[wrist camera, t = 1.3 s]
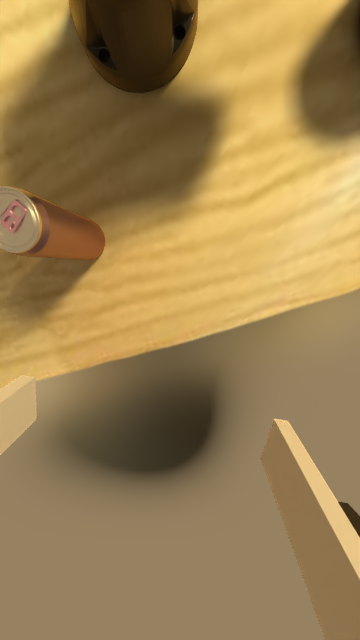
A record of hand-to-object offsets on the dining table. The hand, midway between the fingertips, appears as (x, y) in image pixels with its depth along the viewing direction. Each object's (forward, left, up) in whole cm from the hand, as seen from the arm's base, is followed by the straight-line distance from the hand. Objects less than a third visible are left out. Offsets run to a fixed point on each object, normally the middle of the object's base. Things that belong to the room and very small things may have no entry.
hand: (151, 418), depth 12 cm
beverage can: (-15, -12, -25) cm, 31 cm away
